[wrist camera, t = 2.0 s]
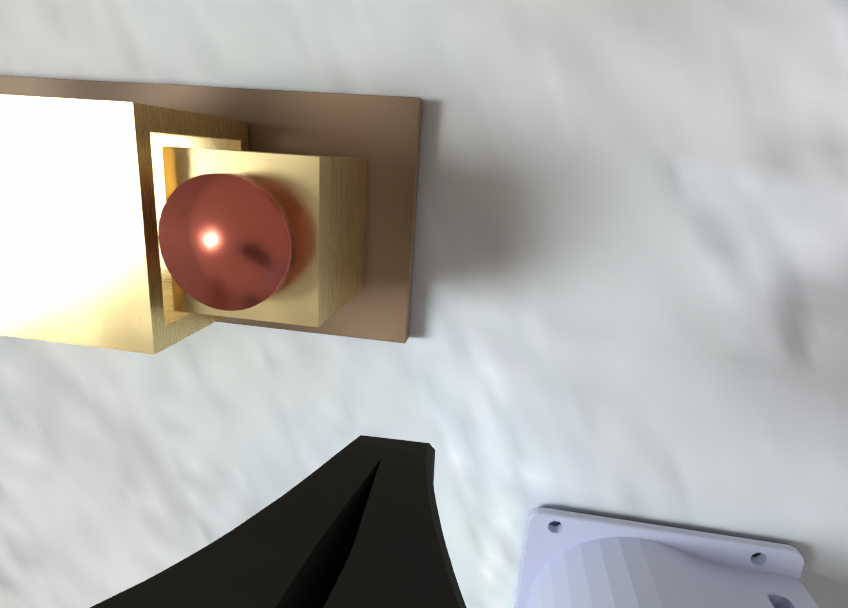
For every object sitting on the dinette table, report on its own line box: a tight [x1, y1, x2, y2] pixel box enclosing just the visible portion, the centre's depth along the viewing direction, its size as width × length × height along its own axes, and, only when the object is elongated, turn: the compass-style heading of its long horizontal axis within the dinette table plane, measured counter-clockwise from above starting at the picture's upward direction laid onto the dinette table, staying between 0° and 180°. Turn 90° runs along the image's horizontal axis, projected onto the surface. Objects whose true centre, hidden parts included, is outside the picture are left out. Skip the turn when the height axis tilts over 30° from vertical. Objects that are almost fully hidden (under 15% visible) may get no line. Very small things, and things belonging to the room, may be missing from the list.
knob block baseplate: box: [0, 76, 422, 343], centre depth 16 cm, size 24×8×5 cm, turn 87°
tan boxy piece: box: [0, 95, 368, 354], centre depth 15 cm, size 9×6×5 cm, turn 86°
